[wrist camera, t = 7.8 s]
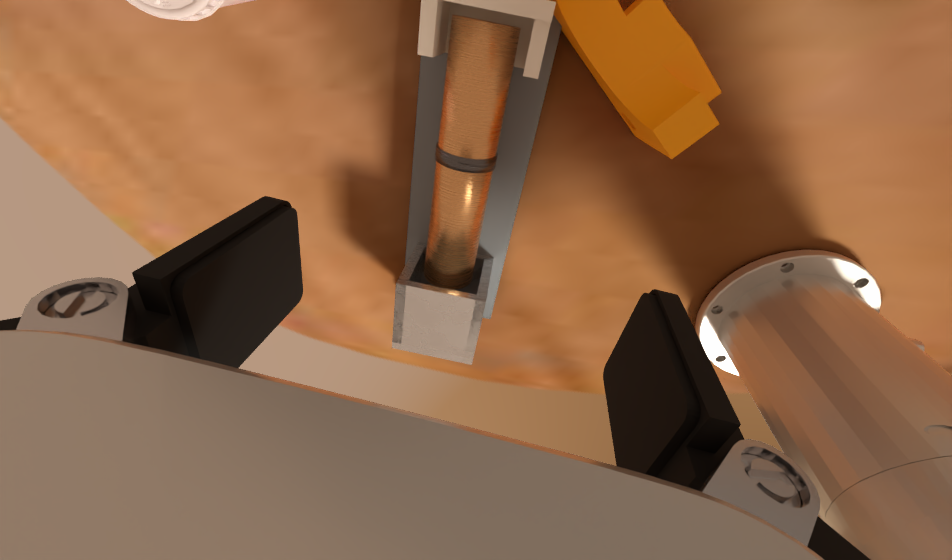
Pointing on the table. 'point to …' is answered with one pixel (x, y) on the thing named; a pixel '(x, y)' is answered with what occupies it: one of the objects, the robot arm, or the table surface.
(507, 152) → the board
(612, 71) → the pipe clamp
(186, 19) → the smoothie
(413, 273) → the sleeve
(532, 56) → the light grey u-shaped block
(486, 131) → the tube
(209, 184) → the table surface
